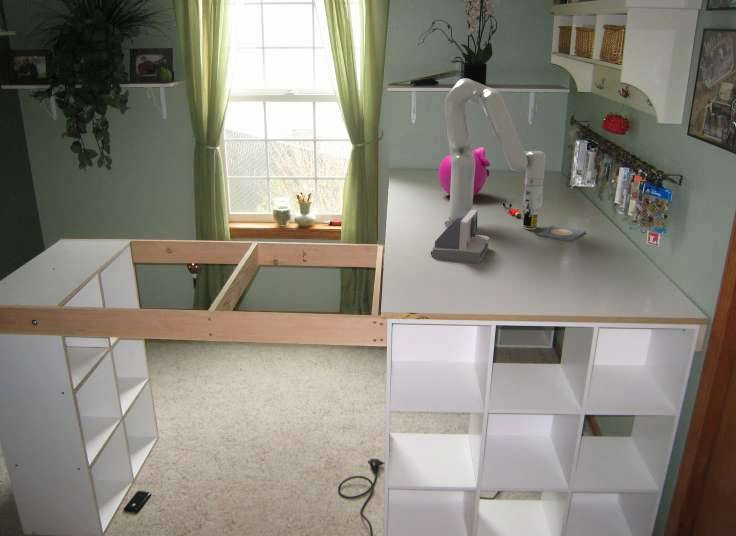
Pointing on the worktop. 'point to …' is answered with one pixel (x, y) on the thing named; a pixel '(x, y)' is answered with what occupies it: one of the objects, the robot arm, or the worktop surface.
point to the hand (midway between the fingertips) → (530, 223)
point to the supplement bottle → (532, 220)
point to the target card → (561, 233)
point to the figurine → (479, 176)
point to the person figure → (513, 211)
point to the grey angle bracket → (461, 240)
